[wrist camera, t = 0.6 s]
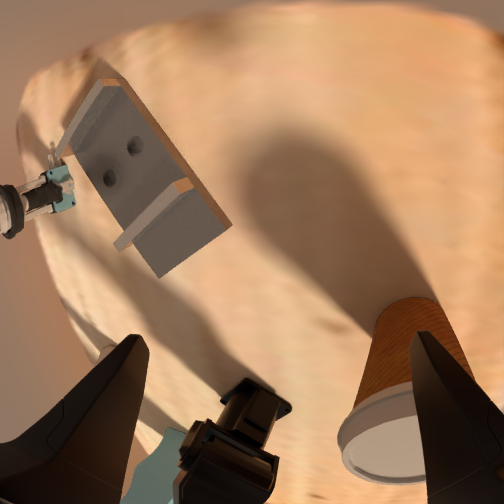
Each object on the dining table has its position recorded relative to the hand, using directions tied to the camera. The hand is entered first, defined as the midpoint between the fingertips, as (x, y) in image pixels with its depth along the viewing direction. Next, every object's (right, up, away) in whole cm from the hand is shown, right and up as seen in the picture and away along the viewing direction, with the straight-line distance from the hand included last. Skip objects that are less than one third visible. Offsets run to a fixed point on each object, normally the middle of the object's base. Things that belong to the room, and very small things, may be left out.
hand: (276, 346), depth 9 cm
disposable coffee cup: (+12, -3, +13) cm, 18 cm away
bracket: (-10, +9, +16) cm, 21 cm away
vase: (-11, -29, +35) cm, 47 cm away
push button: (-21, +11, +20) cm, 31 cm away
